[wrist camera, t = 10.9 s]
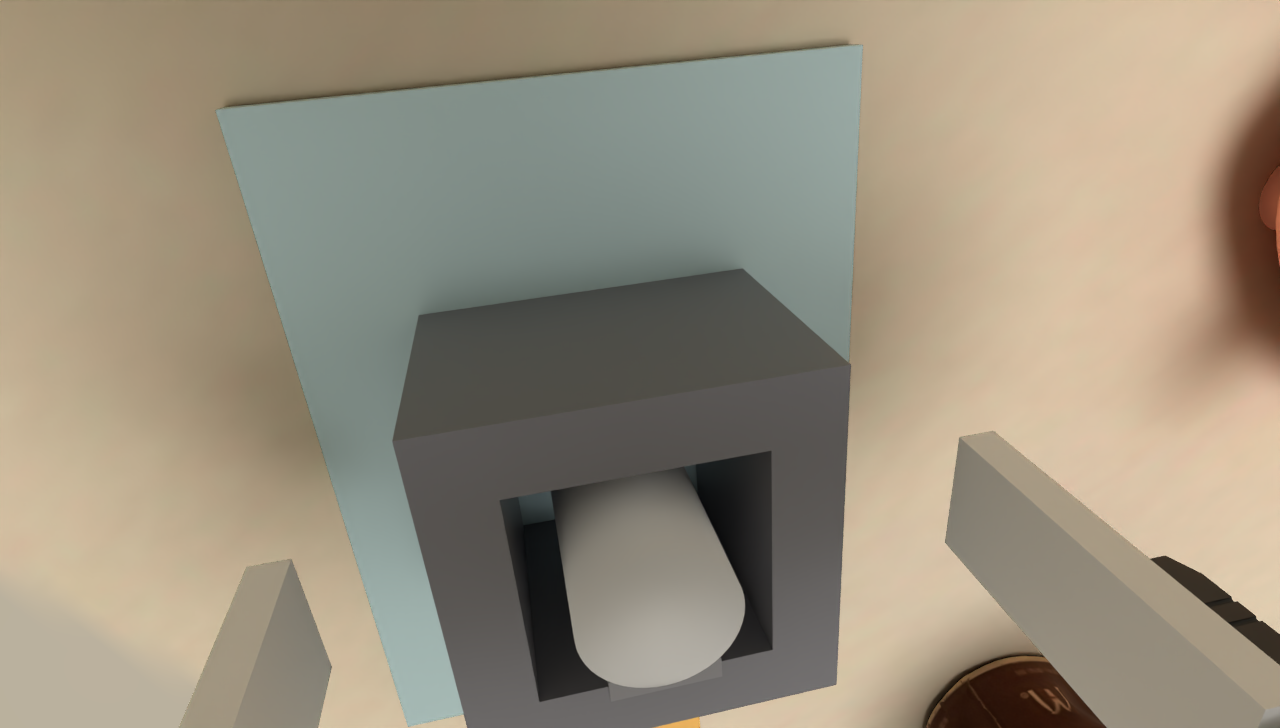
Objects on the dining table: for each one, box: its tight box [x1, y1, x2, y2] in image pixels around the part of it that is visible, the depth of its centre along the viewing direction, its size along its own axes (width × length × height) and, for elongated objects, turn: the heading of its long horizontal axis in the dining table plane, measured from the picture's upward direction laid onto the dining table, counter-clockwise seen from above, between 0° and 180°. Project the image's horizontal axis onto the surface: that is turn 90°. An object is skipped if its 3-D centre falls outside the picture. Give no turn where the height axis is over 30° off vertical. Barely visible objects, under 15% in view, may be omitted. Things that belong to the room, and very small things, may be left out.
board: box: [215, 45, 863, 727], centre depth 17 cm, size 18×14×8 cm
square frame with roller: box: [392, 268, 851, 728], centre depth 17 cm, size 9×8×6 cm
